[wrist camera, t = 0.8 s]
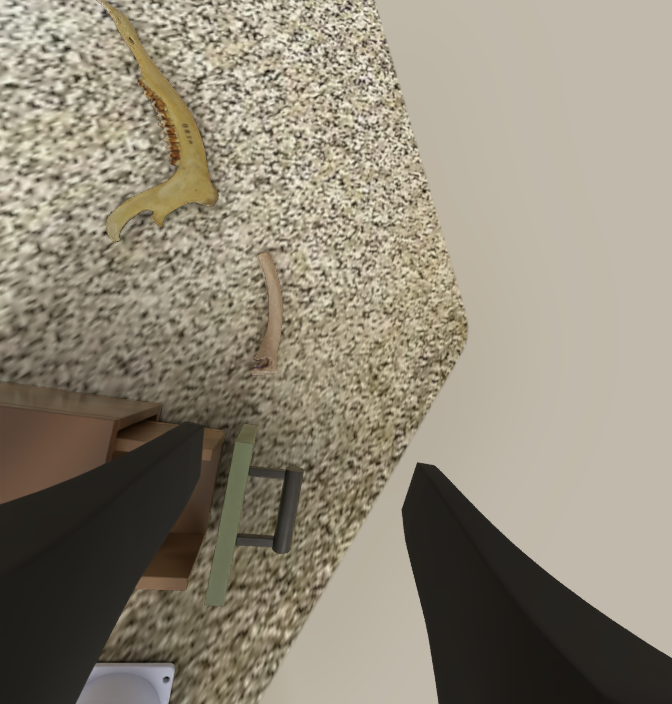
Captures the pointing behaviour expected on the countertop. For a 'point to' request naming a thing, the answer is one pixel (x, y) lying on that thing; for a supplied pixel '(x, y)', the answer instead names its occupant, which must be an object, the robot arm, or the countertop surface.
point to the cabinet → (58, 434)
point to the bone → (270, 320)
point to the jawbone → (182, 146)
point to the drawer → (191, 527)
